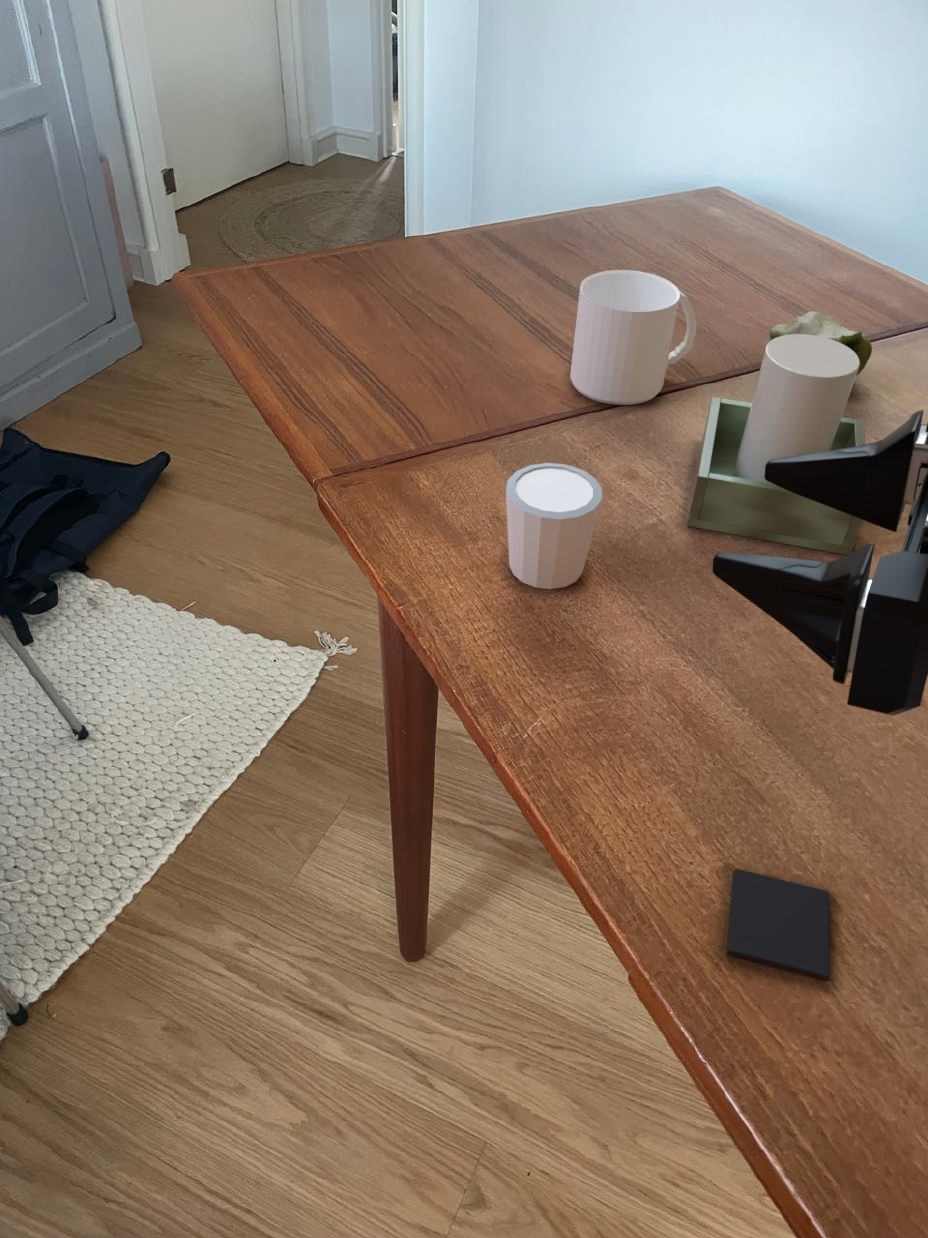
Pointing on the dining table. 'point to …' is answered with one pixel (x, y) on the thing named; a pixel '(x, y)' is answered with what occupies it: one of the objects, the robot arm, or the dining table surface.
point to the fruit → (826, 333)
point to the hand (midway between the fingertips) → (741, 513)
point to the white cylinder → (796, 401)
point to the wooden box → (763, 490)
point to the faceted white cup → (550, 523)
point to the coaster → (779, 924)
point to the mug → (627, 335)
